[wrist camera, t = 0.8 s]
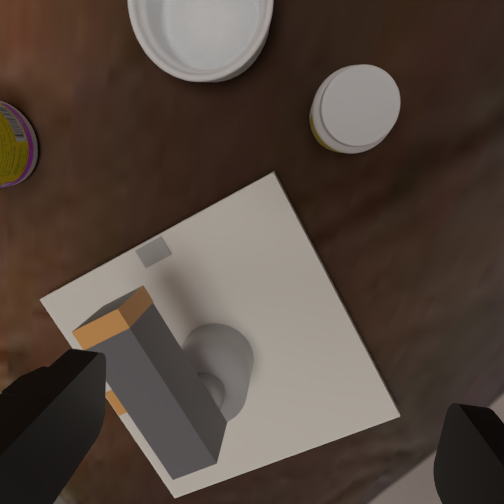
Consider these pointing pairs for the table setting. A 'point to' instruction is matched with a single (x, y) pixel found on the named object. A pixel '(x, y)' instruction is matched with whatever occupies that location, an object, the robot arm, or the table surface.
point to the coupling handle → (157, 383)
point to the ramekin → (202, 35)
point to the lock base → (246, 329)
